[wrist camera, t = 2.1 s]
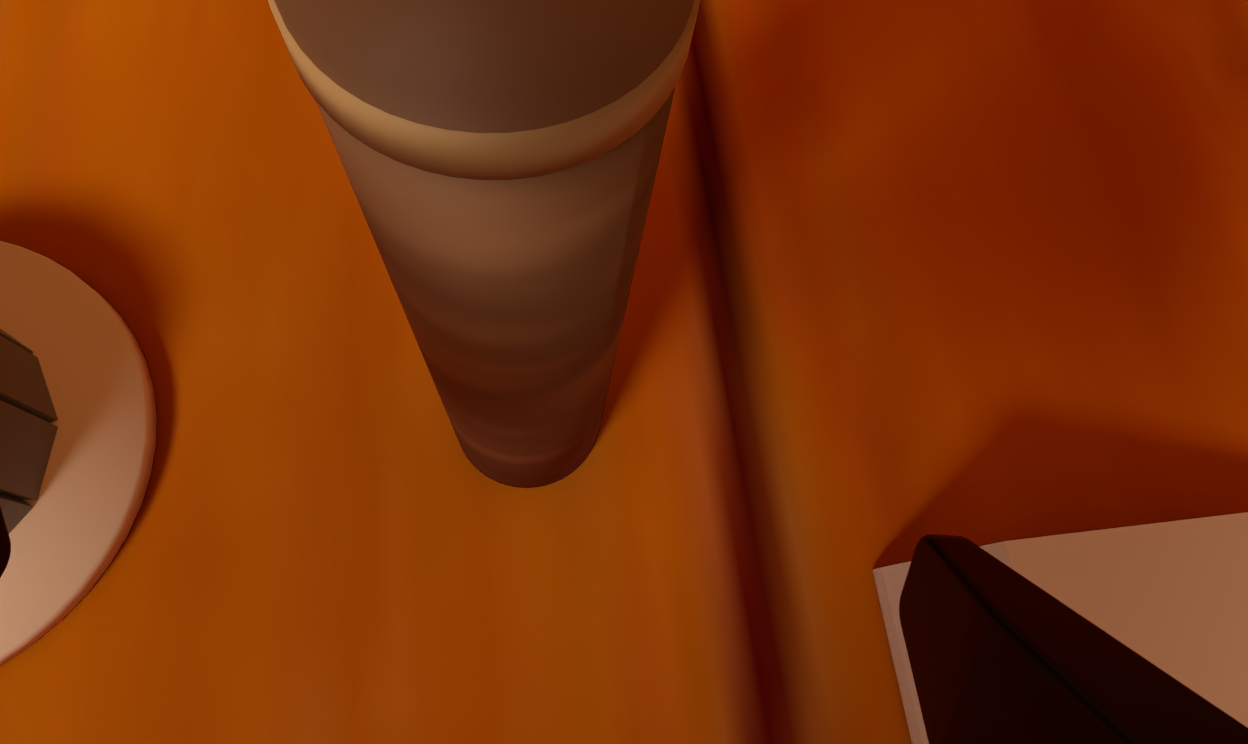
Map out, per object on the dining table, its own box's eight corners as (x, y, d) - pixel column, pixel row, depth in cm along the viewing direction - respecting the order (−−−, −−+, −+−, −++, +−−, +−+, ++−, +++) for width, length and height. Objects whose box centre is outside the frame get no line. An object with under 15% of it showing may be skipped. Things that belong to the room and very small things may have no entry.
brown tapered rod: (495, 517, 20) (366, 175, 6) (427, 388, 21) (167, -186, 7) (628, 444, 21) (801, -11, 7) (557, 323, 22) (574, -306, 7)
